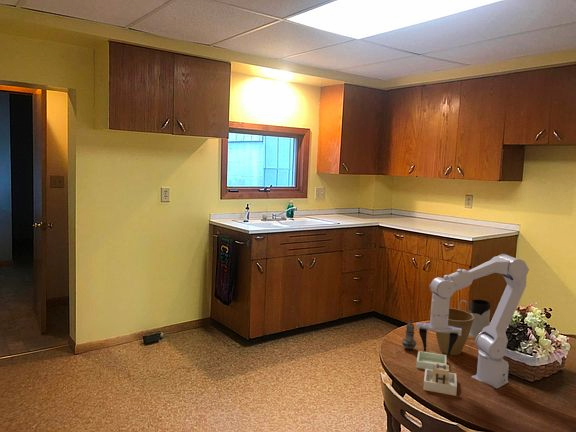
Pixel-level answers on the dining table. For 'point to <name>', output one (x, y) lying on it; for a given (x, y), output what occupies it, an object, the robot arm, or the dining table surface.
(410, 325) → the salt shaker
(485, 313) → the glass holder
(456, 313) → the plant pot
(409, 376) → the dining table surface
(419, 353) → the sage tray
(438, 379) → the letter block
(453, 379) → the white tray
